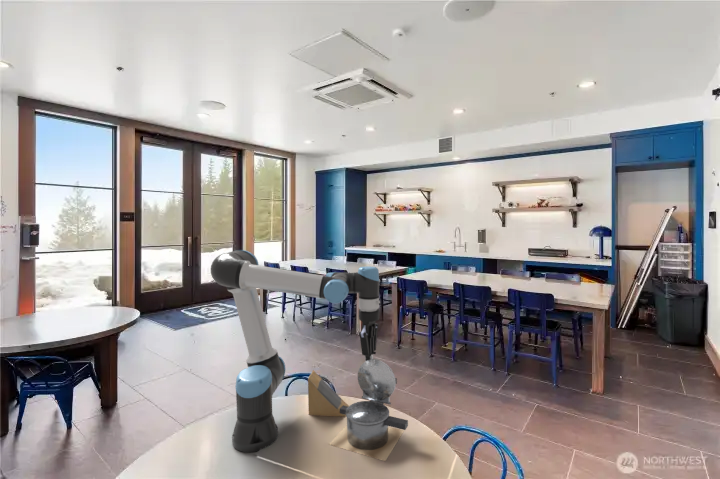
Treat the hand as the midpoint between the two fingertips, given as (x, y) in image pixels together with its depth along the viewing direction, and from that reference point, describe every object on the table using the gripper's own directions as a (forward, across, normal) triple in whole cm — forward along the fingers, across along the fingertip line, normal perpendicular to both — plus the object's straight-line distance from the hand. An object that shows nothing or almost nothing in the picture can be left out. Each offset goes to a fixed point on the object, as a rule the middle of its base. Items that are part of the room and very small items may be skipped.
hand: (369, 371), depth 136 cm
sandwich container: (+19, -1, +16) cm, 25 cm away
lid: (+1, -4, -4) cm, 6 cm away
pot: (+18, -11, -6) cm, 22 cm away
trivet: (+18, -11, -4) cm, 22 cm away
